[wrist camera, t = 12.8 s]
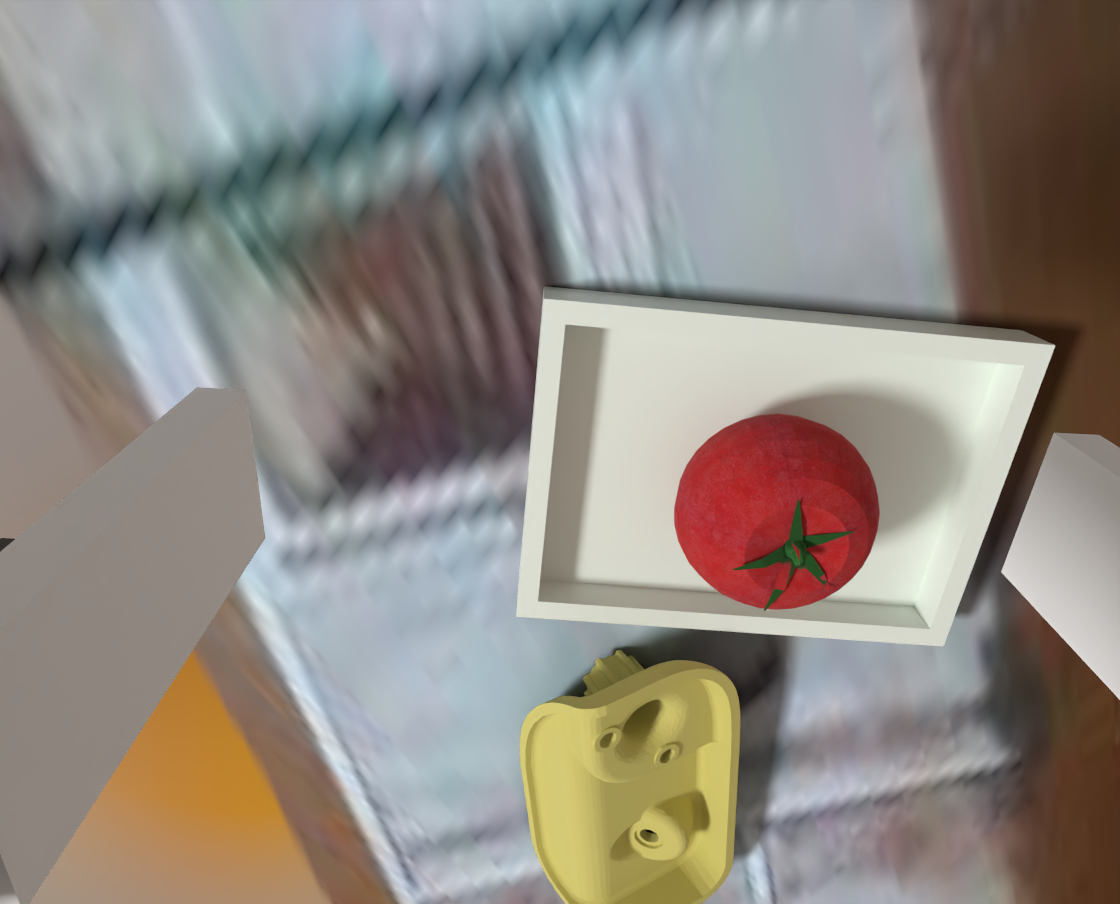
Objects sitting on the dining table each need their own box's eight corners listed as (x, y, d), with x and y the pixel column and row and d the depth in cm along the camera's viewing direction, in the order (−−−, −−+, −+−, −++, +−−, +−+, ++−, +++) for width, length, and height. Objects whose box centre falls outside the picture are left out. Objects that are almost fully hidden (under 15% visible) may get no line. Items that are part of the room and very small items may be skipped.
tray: (544, 286, 33) (543, 298, 31) (1021, 330, 34) (1055, 345, 32) (518, 588, 40) (516, 616, 38) (921, 616, 41) (943, 646, 39)
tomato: (738, 583, 39) (781, 690, 32) (625, 473, 36) (644, 563, 29) (880, 477, 37) (962, 567, 29) (771, 352, 34) (831, 416, 27)
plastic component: (732, 884, 46) (590, 970, 43) (664, 794, 52) (534, 862, 49) (745, 640, 37) (565, 723, 33) (661, 563, 43) (500, 626, 39)
